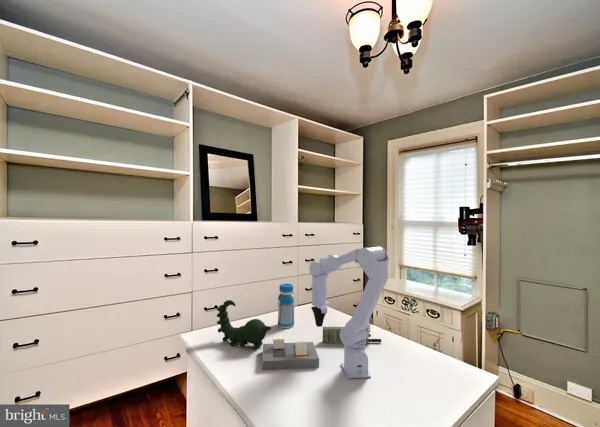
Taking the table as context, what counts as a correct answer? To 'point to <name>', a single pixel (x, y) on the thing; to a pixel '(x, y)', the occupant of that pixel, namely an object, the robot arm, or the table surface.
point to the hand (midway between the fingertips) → (319, 325)
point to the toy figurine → (241, 329)
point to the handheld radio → (338, 335)
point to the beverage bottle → (286, 306)
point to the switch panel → (288, 357)
